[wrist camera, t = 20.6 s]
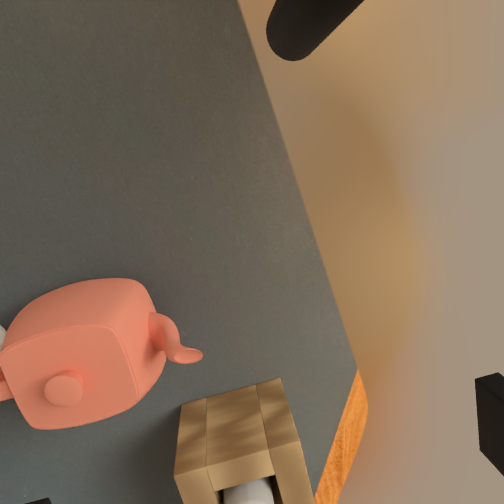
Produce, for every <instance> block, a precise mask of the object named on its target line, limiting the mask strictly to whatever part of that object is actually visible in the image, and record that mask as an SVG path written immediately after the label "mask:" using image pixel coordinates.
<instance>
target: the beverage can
mask: <svg viewBox="0 0 504 504" xmlns="http://www.w3.org/2000/svg"><path fill="white" fill-rule="evenodd" d="M223 497H224V504H274V501H273V495H272V490H271V484H270V479H269V476H268V477H264V478H261V479H257V480H254V481H250V482H246V483H243V484H239V485H236V486H232V487H229V488H225V489H223Z"/></svg>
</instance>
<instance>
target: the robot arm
mask: <svg viewBox="0 0 504 504" xmlns="http://www.w3.org/2000/svg"><path fill="white" fill-rule="evenodd" d="M475 389H476V402H477V417H478V430H479V445H480V451H481V452H482V453H483V454H484V455H485V456H486V457H487V458H488V459H489V461H490V462H491V463H492V464H493V465H494V466H495V467H496V468H497V469H498V470H499V472H500V473H501V474H502V475H503V476H504V377H503V376H502V375H501V374H500V373H494V374H491V375H487V376H484V377H480V378H477V379H475ZM26 504H51V502H50V500H49V498H44V499H41V500H37V501H34V502H30V503H26Z"/></svg>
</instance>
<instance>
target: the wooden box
mask: <svg viewBox="0 0 504 504" xmlns="http://www.w3.org/2000/svg"><path fill="white" fill-rule="evenodd" d="M268 476H269V479H270V484H271V490H272V495H273V501H274V504H315V502H314V498H313V494H312V489H311V485H310V481H309V477H308V473H307V468H306V464H305V460H304V456H303V452H302V447H301V443H300V439H299V436H298V433H297V430H296V427H295V423H294V420H293V417H292V414H291V411H290V408H289V404H288V401H287V398H286V395H285V392H284V389H283V385H282V382H281V379H280V378H277V379H273V380H270V381H266V382H262V383H259V384H256V385H251V386H248V387H244V388H240V389H237V390H233V391H229V392H226V393H222V394H218V395H215V396H211V397H207V398H203V399H200V400H196V401H192V402H189V403H185V404H182V405H181V413H180V422H179V431H178V440H177V449H176V458H175V467H174V479H175V482H176V485H177V487H178V490H179V493H180V495H181V498H182V501H183V504H224V497H223V489H225V488H229V487H232V486H236V485H239V484H243V483H246V482H250V481H254V480H257V479H261V478H264V477H268Z"/></svg>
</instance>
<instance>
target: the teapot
mask: <svg viewBox="0 0 504 504" xmlns="http://www.w3.org/2000/svg"><path fill="white" fill-rule="evenodd" d="M166 357H167V358H168V359H169V360H170V361H173V362H175V363H179V364H189V363H194V362H197V361H199V360H201V359H202V357H203V354H202V352H200V351H199V350H196V349H192V348H187V347H184V346H182V345H181V344H180V338H179V333H178V330H177V327H176V326H175V324H174V322H173V321H172V320H171V319H170V318H169V317H167V316H165V315H162V314H159V313H157V312H156V310H155V307H154V305H153V302H152V300H151V298H150V296H149V294H148V292H147V290H146V289H145V287H144V286H143V285H142V284H141V283H139V282H138V281H135V280H133V279H128V278H103V279H93V280H86V281H81V282H76V283H73V284H69V285H66V286H63V287H60V288H58V289H55V290H53V291H51V292H48V293H46V294H44V295H42V296H40V297H38V298H36V299H35V300H33V301H31V302H30V303H29V304H28V305H26V306H25V307H24V308H23V309H22V310H21V311H20V312H19V313H18V314H17V316H16V317H15V319H14V320H13V321H12V323H11V325H10V326H9V328H8V330H7V332H6V335H5V338H4V341H3V344H2V347H1V350H0V401H4V400H8V399H11V398H14V399H15V401H16V403H17V405H18V407H19V409H20V411H21V413H22V415H23V416H24V418H25V419H26V421H27V422H28V424H29V425H30V426H32V427H34V428H36V429H43V430H50V429H61V428H68V427H74V426H79V425H84V424H89V423H92V422H96V421H99V420H102V419H105V418H108V417H111V416H114V415H116V414H119V413H121V412H124V411H126V410H128V409H129V408H131V407H133V406H134V405H135V404H136V403H138V402H139V401H140V400H141V399H142V398H143V397H144V396H145V395H146V394H147V392H148V391H149V390H150V389H151V388H152V387H153V385H154V384H155V383H156V381H157V380H158V378H159V377H160V375H161V373H162V370H163V368H164V365H165V362H166Z"/></svg>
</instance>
